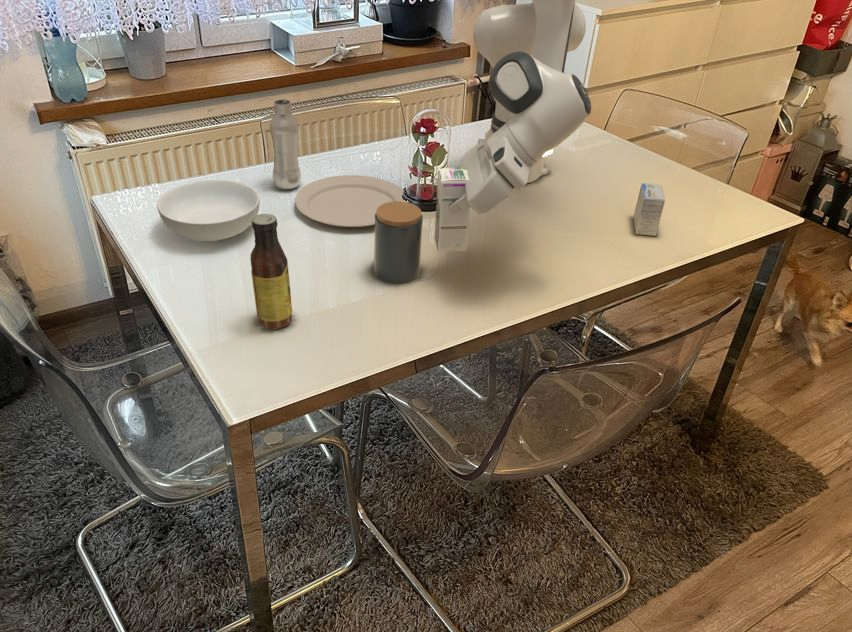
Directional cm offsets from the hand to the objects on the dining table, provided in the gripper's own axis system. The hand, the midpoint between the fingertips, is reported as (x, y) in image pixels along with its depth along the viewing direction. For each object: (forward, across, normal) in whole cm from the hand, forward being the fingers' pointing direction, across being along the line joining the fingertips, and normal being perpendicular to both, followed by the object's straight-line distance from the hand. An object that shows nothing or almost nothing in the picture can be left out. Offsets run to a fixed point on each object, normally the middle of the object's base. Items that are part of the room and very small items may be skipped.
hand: (449, 202), depth 136 cm
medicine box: (-21, -21, +42) cm, 52 cm away
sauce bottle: (+32, +19, -11) cm, 39 cm away
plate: (+25, -26, -4) cm, 36 cm away
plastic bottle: (+36, -36, -15) cm, 53 cm away
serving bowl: (+45, -14, -24) cm, 53 cm away
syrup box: (+6, 0, +7) cm, 9 cm away
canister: (+17, +1, +4) cm, 18 cm away
